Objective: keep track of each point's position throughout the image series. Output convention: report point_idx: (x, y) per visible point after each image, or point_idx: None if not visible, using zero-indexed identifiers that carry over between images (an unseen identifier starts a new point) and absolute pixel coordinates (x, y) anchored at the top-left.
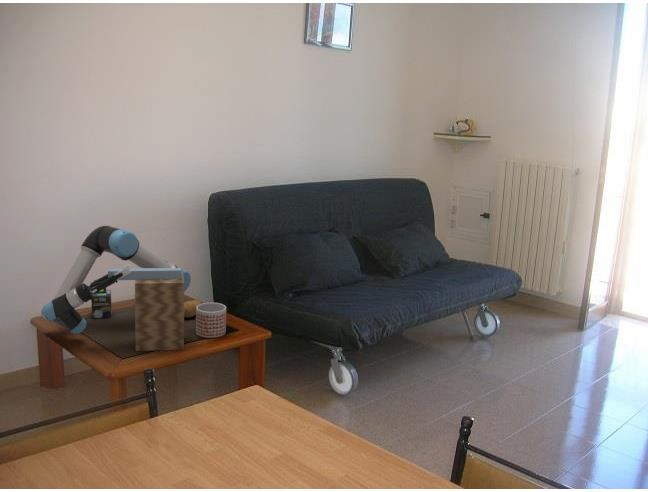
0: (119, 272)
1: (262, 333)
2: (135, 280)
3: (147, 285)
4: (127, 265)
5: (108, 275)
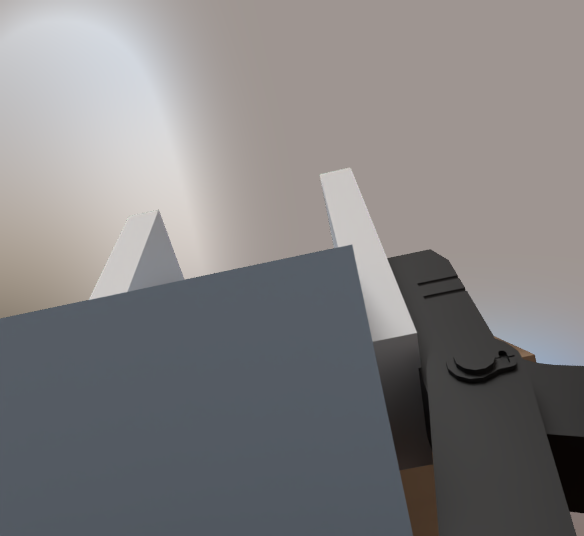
0: (383, 263)
1: None
2: None
3: None
4: (158, 231)
5: (388, 429)
